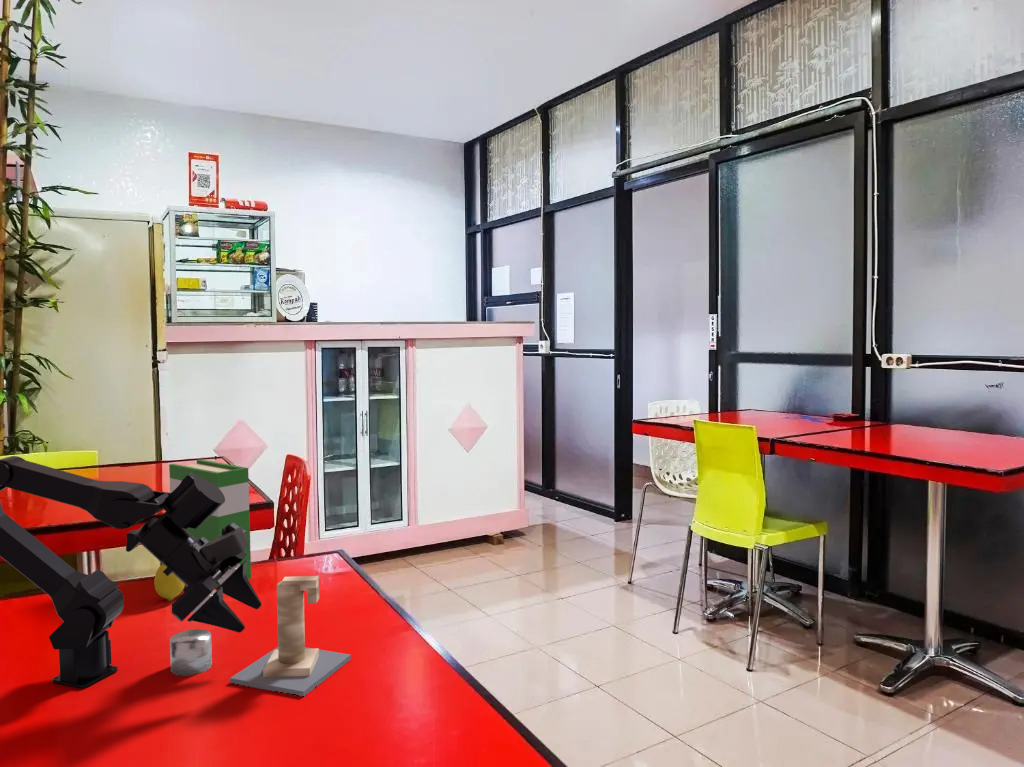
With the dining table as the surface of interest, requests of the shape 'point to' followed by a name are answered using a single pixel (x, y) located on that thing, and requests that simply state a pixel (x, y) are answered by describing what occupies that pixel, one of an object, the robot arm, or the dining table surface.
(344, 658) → the mat
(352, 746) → the dining table surface
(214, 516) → the hardback book
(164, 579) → the lemon
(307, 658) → the beige stacked pedestal
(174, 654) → the steel tin
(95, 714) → the dining table surface
